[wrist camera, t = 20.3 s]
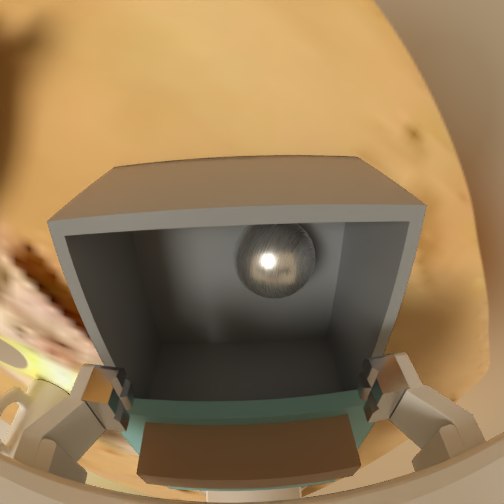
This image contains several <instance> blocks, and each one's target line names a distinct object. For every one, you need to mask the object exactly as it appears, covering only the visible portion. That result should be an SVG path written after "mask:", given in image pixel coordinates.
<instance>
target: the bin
mask: <svg viewBox="0 0 504 504" xmlns="http://www.w3.org/2000/svg"><path fill="white" fill-rule="evenodd" d="M426 206H427V205H425V204H424V203H423V202H421V201H420V200H419V199H417V198H416V197H415V196H413V195H412V194H411V193H409V192H408V191H407V190H405V189H404V188H403V187H401V186H400V185H398V184H397V183H396V182H394V181H393V180H391V179H390V178H388V177H387V176H385V175H384V174H383V173H381V172H380V171H378V170H377V169H375V168H374V167H372V166H371V165H369V164H368V163H366V162H365V161H363V160H361V159H360V158H358V157H348V156H313V155H272V156H237V157H216V158H200V159H186V160H174V161H164V162H154V163H144V164H136V165H127V166H120V167H114V168H113V169H111V170H110V171H108V172H107V173H106V174H104V175H103V176H102V177H100V178H99V179H98V180H96V181H95V182H94V183H93V184H91V185H90V186H89V187H87V188H86V189H85V190H84V191H82V192H81V193H80V194H79V195H77V196H76V197H75V198H74V199H73V200H71V201H70V202H69V203H68V204H67V205H65V206H64V207H63V208H62V209H61V210H59V211H58V212H57V213H56V214H55V215H54V216H53V217H51V218H50V219H49V220H48V221H47V223H48V227H49V230H50V234H51V237H52V240H53V243H54V247H55V250H56V253H57V256H58V259H59V262H60V265H61V267H62V270H63V273H64V276H65V278H66V281H67V284H68V286H69V289H70V292H71V294H72V297H73V299H74V302H75V304H76V306H77V309H78V311H79V313H80V316H81V318H82V320H83V323H84V325H85V327H86V329H87V331H88V334H89V336H90V338H91V340H92V342H93V344H94V346H95V348H96V350H97V352H98V354H99V356H100V358H101V360H102V362H103V364H104V366H110V367H119V368H124V369H125V371H126V373H127V376H126V379H127V380H128V381H130V382H131V384H132V386H133V390H134V398H138V399H151V400H169V401H252V400H270V399H283V398H295V397H305V396H314V395H322V394H330V393H337V392H344V391H350V390H356V389H357V379H358V375H359V373H360V372H362V371H363V367H362V364H363V361H364V360H365V359H366V358H371V357H376V356H382V355H383V354H384V351H385V349H386V346H387V343H388V341H389V338H390V335H391V333H392V330H393V327H394V324H395V321H396V318H397V315H398V312H399V309H400V306H401V303H402V300H403V297H404V294H405V290H406V287H407V284H408V280H409V277H410V273H411V270H412V266H413V262H414V258H415V255H416V251H417V247H418V243H419V238H420V234H421V230H422V225H423V220H424V216H425V211H426ZM288 223H297V224H299V225H300V226H301V227H302V228H303V229H304V230H305V231H306V232H307V233H308V235H309V237H310V238H311V240H312V243H313V245H314V250H315V266H314V270H313V273H312V275H311V277H310V279H309V280H308V282H307V283H306V284H305V285H304V286H303V287H302V288H301V289H300V290H299V291H298V292H296V293H294V294H292V295H290V296H288V297H285V298H279V299H269V298H264V297H261V296H258V295H256V294H254V293H252V292H251V291H249V290H248V289H247V288H246V287H245V286H244V285H243V284H242V283H241V281H240V280H239V278H238V276H237V274H236V272H235V269H234V263H233V252H234V247H235V244H236V241H237V239H238V237H239V235H240V234H241V233H242V231H243V230H244V229H245V228H246V227H247V226H249V225H258V224H288Z"/></svg>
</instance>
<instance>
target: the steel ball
mask: <svg viewBox="0 0 504 504" xmlns="http://www.w3.org/2000/svg"><path fill="white" fill-rule="evenodd" d="M233 263H234V269H235V272H236V274H237V276H238V278H239V280H240V281H241V283H242V284H243V285H244V286H245V287H246V288H247V289H248V290H249V291H251V292H252V293H254V294H256V295H258V296H261V297H264V298H269V299H279V298H285V297H288V296H290V295H292V294H294V293H296V292H298V291H299V290H300V289H301V288H302V287H303V286H304V285H305V284H306V283H307V282H308V280H309V279H310V277H311V275H312V273H313V270H314V266H315V250H314V245H313V243H312V240H311V238H310V237H309V235H308V233H307V232H306V231H305V230H304V229H303V228H302V227H301V226H300V225H299V224H297V223H288V224H258V225H249V226H247V227H246V228H245V229H244V230H243V231H242V233H241V234H240V235H239V237H238V239H237V241H236V244H235V247H234V252H233Z"/></svg>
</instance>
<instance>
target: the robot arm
mask: <svg viewBox="0 0 504 504" xmlns="http://www.w3.org/2000/svg"><path fill="white" fill-rule="evenodd" d="M362 367H363V371H362V372H360V373H359V375H358V379H357V390H358V394H359V397H360V399H362V400H363V401H364V402H365V405H364V407H363V410H364V413H365V416H366V419H367V422H368V423H370V422H376V421H381V420H386V419H389V420H390V421H391V422H392V423H393V424H394V425H395V426H396V427H398V428H399V429H400V430H401V431H402V432H403V433H404V434H405V435H406V436H407V437H409V438H410V439H411V440H412V441H413V442H414V443H415V444H416V445H417V446H419V447H420V448H421V449H422V450H421V451H420V452H419V453H418V454H417V455H416V456H415V457H414V459H413V460H412V463H413V467H414V469H415V472H413V473H410V474H408V475H404V476H401V477H398V478H394V479H391V480H388V481H384V482H381V483H377V484H373V485H369V486H365V487H361V488H357V489H352V490H347V491H342V492H338V493H332V494H327V495H320V496H313V497H306V498H302V493H301V491H302V490H304V489H305V488H306V487H307V486H302V487H293V488H283V489H272V490H255V491H200V490H199V491H200V492H202V493H204V494H205V495H206V502H194V501H181V500H170V499H161V498H154V497H147V496H140V495H133V494H128V493H123V492H118V491H113V490H108V489H104V488H100V487H96V486H92V485H88V484H85V481H86V477H87V472H86V470H85V469H84V468H83V467H82V466H80V465H79V464H78V463H77V461H78V460H79V459H80V458H81V457H82V456H83V455H84V453H85V452H86V451H87V450H88V449H89V448H90V447H91V446H92V445H93V444H94V442H95V441H96V440H97V439H98V438H99V437H100V436H101V435H102V434H103V433H104V432H105V429H108V430H116V431H124V432H126V431H127V427H128V423H129V419H130V416H129V414H128V412H127V411H128V410H129V409H130V408H131V407H132V406H133V401H134V390H133V386H132V384H131V382H130V381H128V380H127V379H126V376H127V373H126V371H125V369H124V368H119V367H110V366H102V365H93V364H84V365H83V366H82V367H81V369H80V371H79V374H78V376H77V379H76V381H75V383H74V386H73V388H72V391H71V393H70V396H69V398H64V399H63V400H62V401H60V402H59V403H58V404H57V405H55V406H54V407H53V408H51V409H50V410H49V411H48V412H46V413H45V414H44V415H43V416H41V417H40V418H39V419H37V420H36V421H35V422H34V423H32V424H31V425H30V426H29V427H27V428H26V429H25V430H24V431H23V433H22V436H21V438H20V441H19V444H18V446H17V449H16V452H15V455H14V457H13V458H11V457H8V456H6V455H4V454H2V453H0V504H504V432H503V433H501V434H499V435H497V436H496V437H494V438H492V439H490V440H488V441H485V439H484V437H483V435H482V432H481V430H480V428H479V426H478V424H477V422H476V420H475V418H474V416H473V414H471V413H470V412H468V411H467V410H465V409H464V408H462V407H460V406H459V405H457V404H456V403H454V402H453V401H451V400H450V399H448V398H446V397H445V396H443V395H442V394H440V393H439V392H437V391H436V390H434V389H433V388H431V387H430V386H428V385H423V384H422V382H421V380H420V378H419V376H418V374H417V372H416V370H415V368H414V366H413V365H412V363H411V361H410V359H409V357H408V355H407V353H405V352H400V353H395V354H387V355H382V356H376V357H371V358H366V359H365V360H364V361H363V364H362Z"/></svg>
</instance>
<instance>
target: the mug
mask: <svg viewBox="0 0 504 504" xmlns="http://www.w3.org/2000/svg"><path fill="white" fill-rule="evenodd" d="M69 396H70V395H69V394H68V393H66V392H65V391H64V390H62V389H61V388H59V387H57V386H56V385H54V384H51V383H49V382H46V381H43V380H34V381H32V382H31V384H30V385H29V387H28V389H27V391H26V393H24V392H23V390H22V389H21V388H20V387H12V388H11V389H10V390H8V391H7V392H6V393H5V394H3V395H2V396H1V397H0V416H1V414H2V412H3V411H4V409H5V408H6V407H7V406H8V405H9V404H11V403H13V402H17V403H18V404H19V408H18V410H17V413H16V415H15V417H14V420H13V422H12V424H11V427H10V429H9V431H8V434H7V436H6V439H5V441H4V444H3V443H2V442H1V440H0V453H2V454H4V455H6V456H8V457H11V458H13V457H14V455H15V452H16V449H17V446H18V444H19V441H20V438H21V436H22V433H23V431H24V430H25V429H26V428H27V427H29V426H30V425H31V424H32V423H34V422H35V421H36V420H37V419H39V418H40V417H41V416H43V415H44V414H45V413H46V412H48V411H49V410H50V409H51V408H53V407H54V406H55V405H57V404H58V403H59V402H60V401H62V400H63V399H64V398H69Z"/></svg>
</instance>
